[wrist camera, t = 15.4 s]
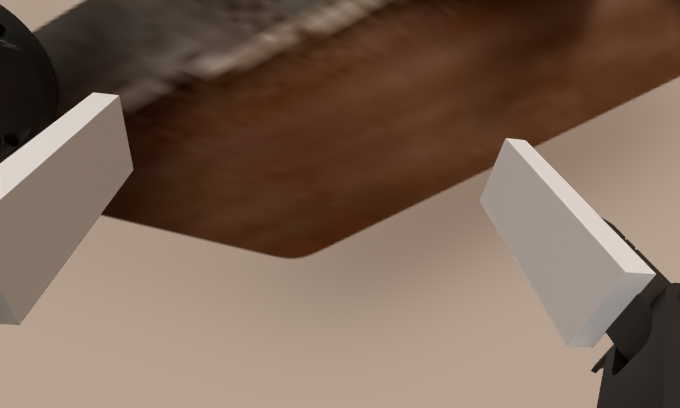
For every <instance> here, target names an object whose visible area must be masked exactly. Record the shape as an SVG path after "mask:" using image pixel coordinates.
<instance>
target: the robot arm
mask: <svg viewBox="0 0 680 408" xmlns="http://www.w3.org/2000/svg"><path fill="white" fill-rule="evenodd" d="M56 107H57V87H56V81H55V76H54V73H53V70H52V67H51V64H50V62H49V60H48V57H47V55H46V53H45V52H44V50H43V48H42V46H41V45H40V43H39V42H38V40H37V39H36V38H35V36H34V35H33V34H32V33H31V31H30V30H29V29H28V28H27V27H26V26H25V25H24V24H23V23H22V22H21V21H20V20H19V19H18V18H17V17H16V16H15V15H14V14H12V13H11V12H10V11H8V10H7V9H6V8H4V7H3V6H1V5H0V158H4V157H7V156H9V157H8V158H7V159H5V160H4V161H3V162H2V163H0V324H16V325H19V324H21V322H22V320H23V319H24V318H25V317H26V315H27V314H28V313H29V311H30V310H31V308H32V307H33V306H34V304H35V303H36V302H37V300H38V299H39V298H40V296H41V295H42V293H43V292H44V291H45V289H46V288H47V287H48V285H49V284H50V283H51V281H52V280H53V279H54V277H55V276H56V275H57V273H58V272H59V270H60V269H61V268H62V266H63V265H64V264H65V262H66V261H67V259H68V258H69V257H70V255H71V254H72V253H73V251H74V250H75V249H76V247H77V246H78V244H79V243H80V242H81V241H82V239H83V238H84V236H85V235H86V234H87V232H88V231H89V230H90V228H91V227H92V226H93V224H94V223H95V221H96V220H97V219H98V217H99V216H100V215H101V213H102V212H103V211H104V209H105V208H106V206H107V205H108V204H109V202H110V201H111V200H112V198H113V197H114V196H115V194H116V193H117V192H118V190H119V189H120V187H121V186H122V185H123V183H124V182H125V181H126V179H127V178H128V177H129V175H130V174H131V172H132V171H133V165H132V160H131V154H130V149H129V144H128V139H127V134H126V128H125V123H124V118H123V113H122V108H121V102H120V97H119V95H112V94H103V93H94V92H93V93H92V94H91V95H89V96H88V97H87V98H85V99H84V100H83V101H81V102H80V103H79V104H78V105H76V106H75V107H74V108H72V109H71V110H70V111H68V112H67V113H66V114H64V115H63V116H62V117H61V118H59V119H58V120H57V121H55V122H54V123H53V124H52V122H53V119H54V116H55V113H56ZM10 155H11V156H10ZM480 202H481V204H482V206H483V207H484V209H485V211H486V212H487V214H488V216H489V218H490V219H491V221H492V223H493V224H494V226H495V228H496V229H497V231H498V232H499V234H500V236H501V238H502V239H503V241H504V242H505V244H506V246H507V248H508V249H509V251H510V253H511V254H512V256H513V258H514V259H515V261H516V263H517V264H518V266H519V268H520V269H521V271H522V273H523V274H524V276H525V278H526V279H527V281H528V282H529V285H530V286H531V288H532V290H533V291H534V293H535V294H536V296H537V298H538V300H539V301H540V303H541V305H542V306H543V308H544V309H545V311H546V313H547V315H548V316H549V318H550V320H551V321H552V323H553V325H554V326H555V328H556V330H557V331H558V333H559V335H560V336H561V338H562V340H563V341H564V343H565V345H566V346H568V347H570V346H571V347H594V346H595V345H596V343H597V342H598V341H599V340H600V339H601V338H602V336H603V335H604V334H605V333H607V334H608V336H609V337H610V339H611V340H612V342H613V343H614V345H613V346H612V347H611V348H610V349H609V350H608V351H607V352H606V353H605V355H604V356H603V357H602V358H601V359H600V360H599V361H598V362H597V363H596V365H595V366H594V367H593V369H592V370H591V371H592V372H594V373H596V372H597V371H598V370H599V369H601V368H604V370H603V376H602V382H601V387H600V393H599V399H598V404H597V408H680V283H672V284H671V283H670V282H669V281H668V280H667V279H666V278H665V277H664V276H663V275H662V274H661V273H660V272H659V271H658V270H657V269H656V268H655V267H654V266H653V265H652V264H651V263H650V262H649V261H648V260H647V259H646V258H645V257H644V256H643V255H642V254H641V253H640V251H638V250H635V247H634V246H633V244H631V243H630V242H629V240H625V236H623V234H622V233H621V232H620V231H619V230H618V229H617V228H616V227H615V226H614V225H612V224H611V223H609V222H608V221H606V220H605V219H603V218H602V217H600V216H599V215H598V214H597V213H596V212H595V211H594V210H593V209H592V208H591V207H590V206H589V205H588V204H587V203H586V202H585V201H584V200H583V199H582V198H581V197H580V196H579V195H578V194H577V193H576V192H575V190H574V189H573V188H572V187H571V186H570V185H569V184H568V183H567V182H566V181H565V180H564V179H563V178H562V177H561V176H560V175H559V174H558V173H557V172H556V171H555V170H554V169H553V168H552V167H551V166H550V165H549V164H548V163H547V162H546V161H545V160H544V159H543V158H542V157H541V156H540V155H539V154H538V153H537V152H536V151H535V150H534V148H533V147H532V146H531V145H530V144H529V143H528V142H527V141H526V140H518V139H509V138H506V139H505V141H504V143H503V146H502V148H501V150H500V153H499V155H498V158H497V160H496V162H495V165H494V167H493V169H492V172H491V174H490V177H489V179H488V181H487V183H486V186H485V188H484V190H483V193H482V195H481V198H480Z"/></svg>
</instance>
